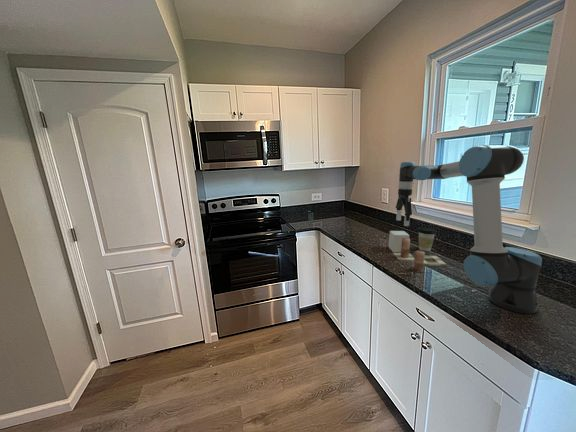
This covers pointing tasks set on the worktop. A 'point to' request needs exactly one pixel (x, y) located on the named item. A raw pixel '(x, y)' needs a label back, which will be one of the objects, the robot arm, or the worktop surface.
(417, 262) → the peg
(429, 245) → the coffee cup
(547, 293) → the worktop surface
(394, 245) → the block
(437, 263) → the socket board
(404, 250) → the wooden post on base
